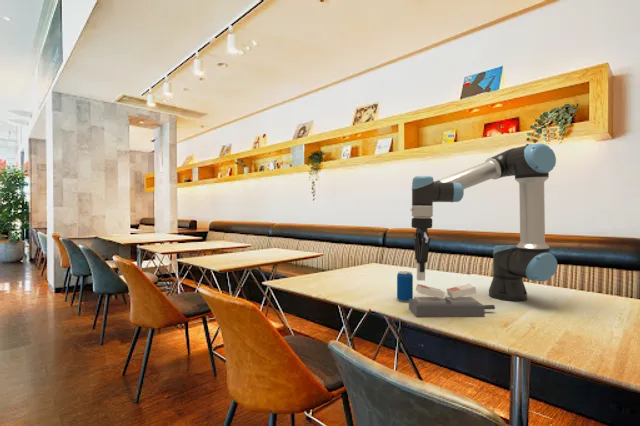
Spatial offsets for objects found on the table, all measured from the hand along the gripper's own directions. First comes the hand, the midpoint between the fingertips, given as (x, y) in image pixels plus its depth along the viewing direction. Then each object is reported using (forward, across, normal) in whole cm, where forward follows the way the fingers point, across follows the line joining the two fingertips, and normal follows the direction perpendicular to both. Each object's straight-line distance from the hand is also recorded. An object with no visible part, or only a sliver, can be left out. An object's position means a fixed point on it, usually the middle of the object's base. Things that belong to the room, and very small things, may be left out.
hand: (420, 280), depth 133 cm
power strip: (+12, 0, +13) cm, 18 cm away
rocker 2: (+5, 0, +16) cm, 17 cm away
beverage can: (+13, -17, -1) cm, 21 cm away
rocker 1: (+5, 0, +3) cm, 6 cm away
